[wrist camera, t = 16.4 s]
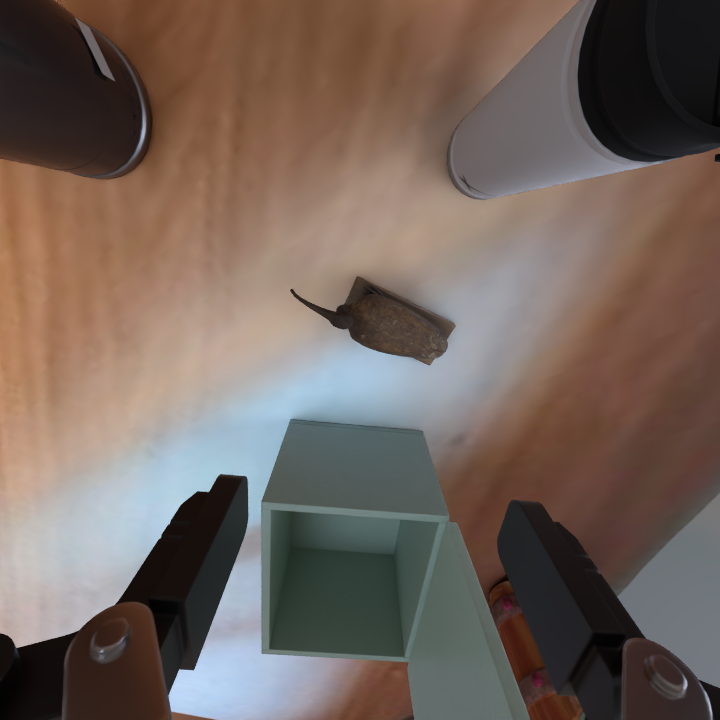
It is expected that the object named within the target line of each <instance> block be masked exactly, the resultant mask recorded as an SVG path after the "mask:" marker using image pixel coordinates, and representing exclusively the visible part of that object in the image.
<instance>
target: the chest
mask: <svg viewBox="0 0 720 720" xmlns="http://www.w3.org/2000/svg"><path fill="white" fill-rule="evenodd" d="M261 508H262V509H261V565H262V654H277V655H294V656H311V657H329V658H346V659H363V660H380V661H398V662H409V661H410V657H411V653H412V650H413V646H414V642H415V638H416V635H417V631H418V627H419V623H420V620H421V616H422V612H423V609H424V605H425V601H426V597H427V594H428V590H429V586H430V582H431V579H432V575H433V571H434V567H435V564H436V560H437V556H438V552H439V549H440V545H441V541H442V537H443V534H444V530H445V526H446V522H448V521H449V518H450V516H449V513H448V510H447V506H446V503H445V500H444V497H443V494H442V491H441V487H440V484H439V481H438V478H437V475H436V472H435V469H434V465H433V462H432V459H431V456H430V453H429V450H428V446H427V443H426V440H425V437H424V434H423V431H415V430H404V429H393V428H381V427H370V426H359V425H347V424H336V423H325V422H314V421H302V420H290V422H289V425H288V428H287V431H286V434H285V436H284V439H283V442H282V445H281V448H280V451H279V454H278V456H277V459H276V462H275V465H274V468H273V471H272V473H271V476H270V479H269V482H268V485H267V488H266V491H265V493H264V496H263V499H262V502H261Z"/></svg>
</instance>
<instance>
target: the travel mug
mask: <svg viewBox="0 0 720 720" xmlns="http://www.w3.org/2000/svg"><path fill="white" fill-rule="evenodd" d="M719 147H720V0H580V1H579V2H578V3H577V4H576V5H575V6H574V7H573V8H572V9H571V10H570V11H569V12H568V13H567V14H566V15H565V16H564V17H563V18H562V19H561V20H560V21H559V22H558V23H557V24H556V25H555V26H554V27H553V28H552V29H551V30H550V31H549V32H548V33H547V34H546V35H545V36H544V37H543V38H542V39H541V40H540V41H539V42H538V43H537V44H536V45H535V46H534V47H533V49H532V50H531V51H530V52H529V53H528V54H527V55H526V56H525V57H524V58H523V59H522V60H521V61H520V62H519V63H518V64H517V65H516V66H515V67H514V68H513V69H512V70H511V71H510V72H509V73H508V74H507V75H506V76H505V77H504V78H503V79H502V80H501V81H500V82H499V83H498V84H497V85H496V86H495V87H494V88H493V89H492V90H491V91H490V92H489V93H488V94H487V95H486V96H485V97H484V98H483V100H482V101H481V102H480V103H479V104H478V105H477V106H476V107H475V108H474V109H473V110H472V111H471V112H470V113H469V114H468V115H467V116H466V117H465V118H464V119H463V120H462V121H461V122H460V124H459V125H458V126H457V128H456V129H455V131H454V133H453V135H452V137H451V140H450V143H449V146H448V152H447V166H448V171H449V175H450V177H451V180H452V182H453V183H454V185H455V186H456V188H457V189H458V190H460V191H461V192H462V193H463V194H465V195H466V196H468V197H471V198H474V199H480V200H485V199H492V198H497V197H502V196H507V195H511V194H516V193H521V192H526V191H531V190H535V189H540V188H545V187H550V186H554V185H559V184H564V183H569V182H574V181H578V180H583V179H588V178H593V177H598V176H602V175H607V174H612V173H617V172H621V171H626V170H631V169H636V168H641V167H645V166H649V165H653V164H660V163H665V162H668V161H671V160H674V159H677V158H680V157H683V156H686V155H692V154H698V153H703V152H706V151H709V150H712V149H715V148H719ZM715 161H716V162H720V154H716V155H715Z"/></svg>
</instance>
